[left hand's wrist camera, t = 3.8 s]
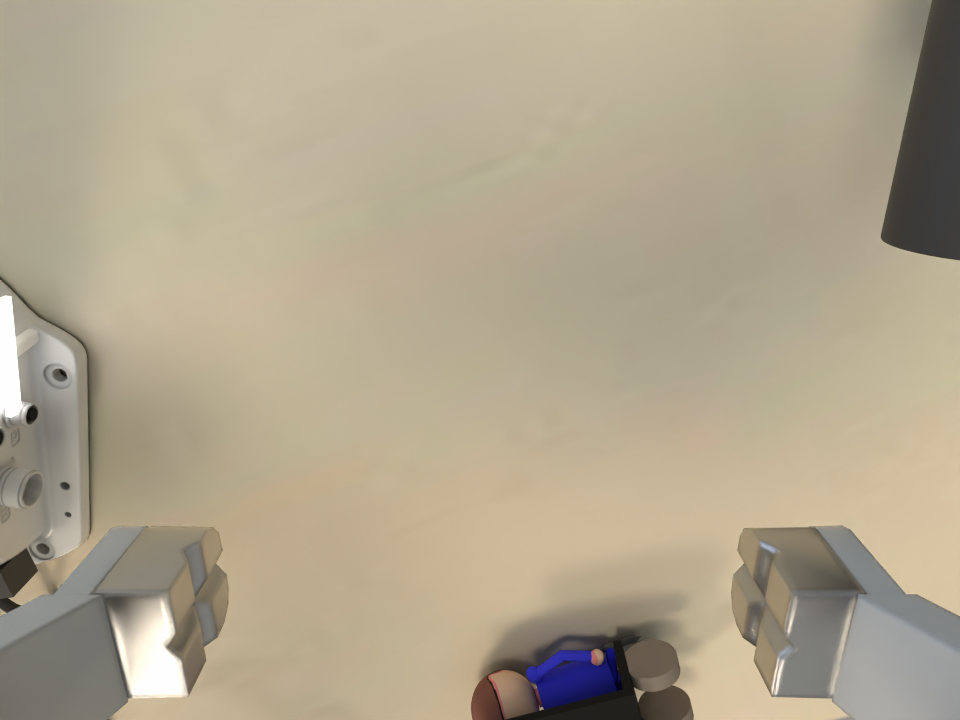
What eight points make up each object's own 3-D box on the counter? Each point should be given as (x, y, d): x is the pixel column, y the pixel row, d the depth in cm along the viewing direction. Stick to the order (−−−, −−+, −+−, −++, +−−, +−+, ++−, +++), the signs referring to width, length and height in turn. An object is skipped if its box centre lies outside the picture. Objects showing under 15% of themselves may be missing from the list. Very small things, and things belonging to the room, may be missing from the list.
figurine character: (649, 594, 50) (455, 658, 50) (690, 672, 43) (464, 747, 43) (667, 661, 52) (482, 723, 52) (709, 746, 45) (495, 817, 45)
